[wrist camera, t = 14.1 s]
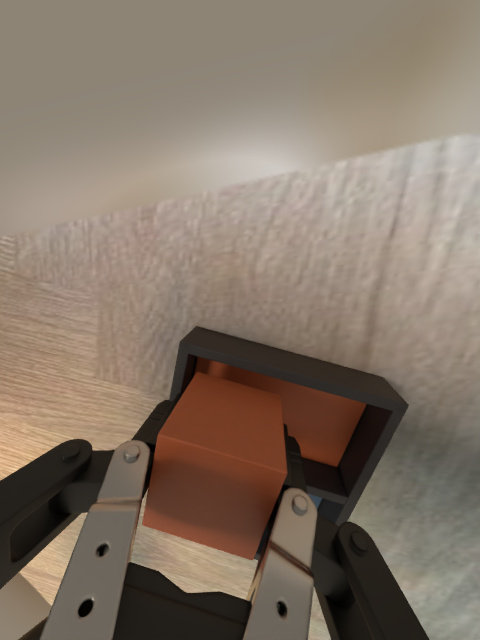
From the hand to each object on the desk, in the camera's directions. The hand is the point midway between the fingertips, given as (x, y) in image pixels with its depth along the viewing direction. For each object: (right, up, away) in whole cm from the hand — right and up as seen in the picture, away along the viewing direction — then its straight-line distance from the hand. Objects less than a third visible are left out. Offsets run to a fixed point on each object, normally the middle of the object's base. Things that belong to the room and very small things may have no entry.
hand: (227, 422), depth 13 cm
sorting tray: (+2, -3, +4) cm, 5 cm away
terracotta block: (0, 0, 0) cm, 0 cm away
